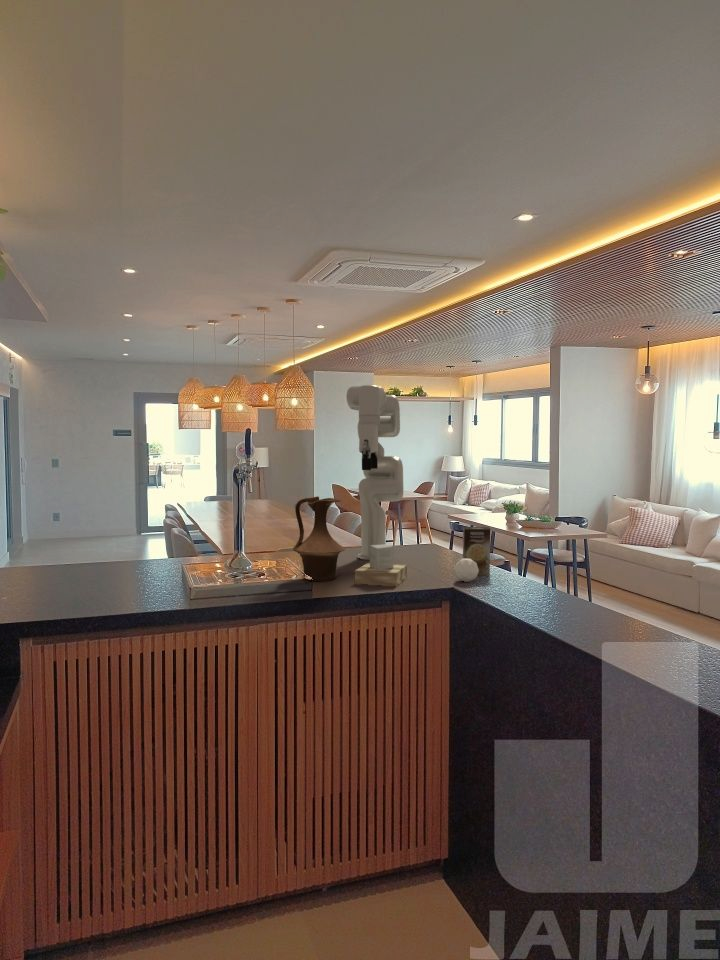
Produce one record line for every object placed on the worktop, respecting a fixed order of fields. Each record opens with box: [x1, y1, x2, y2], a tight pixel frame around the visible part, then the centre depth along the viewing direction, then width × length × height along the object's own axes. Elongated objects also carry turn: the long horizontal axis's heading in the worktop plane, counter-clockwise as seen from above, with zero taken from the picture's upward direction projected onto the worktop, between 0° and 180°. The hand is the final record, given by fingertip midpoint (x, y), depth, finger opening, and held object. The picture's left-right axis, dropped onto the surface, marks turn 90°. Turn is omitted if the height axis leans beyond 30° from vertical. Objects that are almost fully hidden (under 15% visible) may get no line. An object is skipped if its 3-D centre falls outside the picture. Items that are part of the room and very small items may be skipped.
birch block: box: [354, 562, 408, 587], centre depth 227 cm, size 14×14×5 cm
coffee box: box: [462, 526, 491, 576], centre depth 237 cm, size 9×6×16 cm
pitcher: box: [292, 496, 346, 582], centre depth 231 cm, size 18×17×28 cm
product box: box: [369, 544, 394, 570], centre depth 227 cm, size 6×6×7 cm
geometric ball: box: [453, 557, 479, 583], centre depth 225 cm, size 8×8×8 cm
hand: (369, 469), depth 241 cm, fingers open, 9 cm apart
